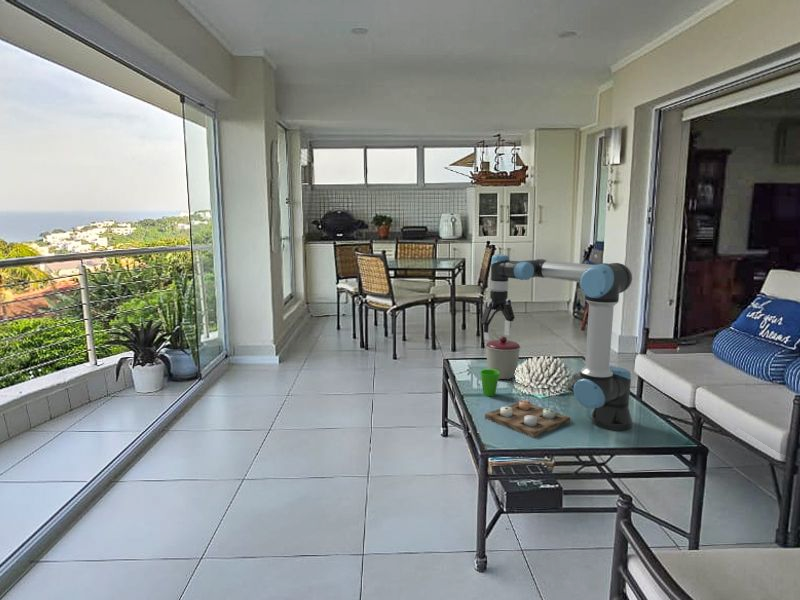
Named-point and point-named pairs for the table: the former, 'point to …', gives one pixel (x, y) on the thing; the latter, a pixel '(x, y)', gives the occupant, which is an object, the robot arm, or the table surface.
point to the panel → (518, 420)
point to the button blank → (530, 421)
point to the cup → (489, 381)
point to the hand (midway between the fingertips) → (497, 337)
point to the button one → (506, 412)
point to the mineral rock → (573, 380)
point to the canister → (503, 356)
